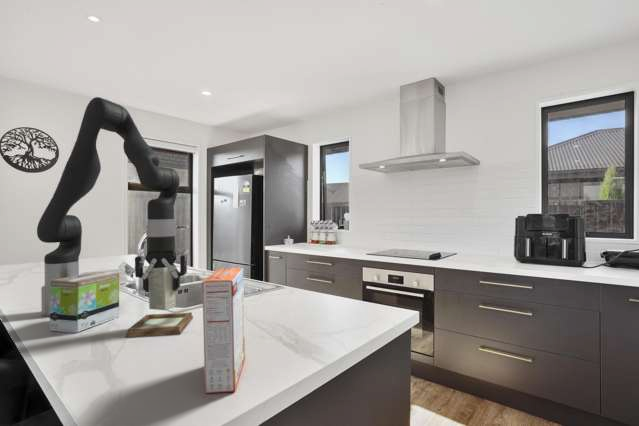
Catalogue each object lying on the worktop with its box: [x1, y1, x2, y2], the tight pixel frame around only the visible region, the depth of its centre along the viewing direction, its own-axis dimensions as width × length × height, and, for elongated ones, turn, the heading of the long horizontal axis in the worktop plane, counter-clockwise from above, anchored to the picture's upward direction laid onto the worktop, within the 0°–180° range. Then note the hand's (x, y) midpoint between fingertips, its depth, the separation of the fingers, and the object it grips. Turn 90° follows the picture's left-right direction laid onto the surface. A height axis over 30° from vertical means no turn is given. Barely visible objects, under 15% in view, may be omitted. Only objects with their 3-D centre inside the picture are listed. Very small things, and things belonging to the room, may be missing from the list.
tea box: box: [49, 271, 120, 334], centre depth 101 cm, size 15×10×15 cm
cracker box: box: [201, 267, 246, 394], centre depth 68 cm, size 14×6×21 cm, turn 5°
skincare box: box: [148, 266, 177, 311], centre depth 97 cm, size 6×4×12 cm
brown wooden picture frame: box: [125, 311, 194, 338], centre depth 97 cm, size 14×14×2 cm
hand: (161, 290), depth 97 cm, fingers closed on skincare box, 7 cm apart
